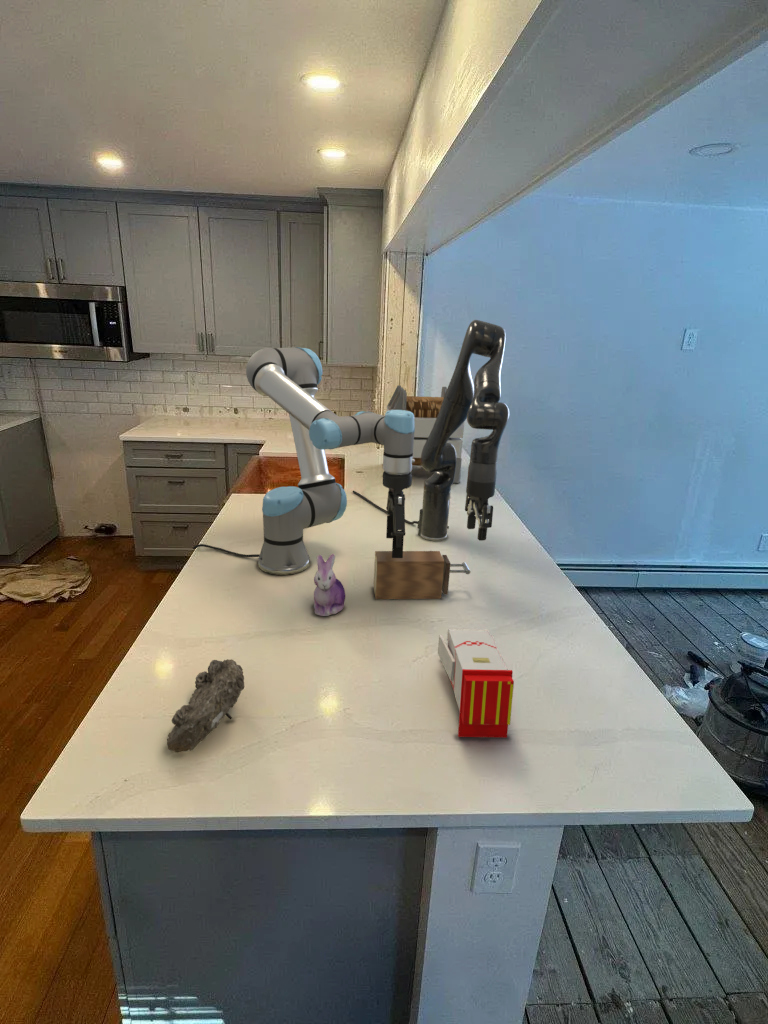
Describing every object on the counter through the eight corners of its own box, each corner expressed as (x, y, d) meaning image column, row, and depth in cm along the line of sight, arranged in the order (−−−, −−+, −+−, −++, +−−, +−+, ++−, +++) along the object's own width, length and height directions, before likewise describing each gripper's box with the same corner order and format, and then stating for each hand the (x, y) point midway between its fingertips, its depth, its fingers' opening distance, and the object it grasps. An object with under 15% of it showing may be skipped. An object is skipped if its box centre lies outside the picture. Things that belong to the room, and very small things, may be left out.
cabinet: (436, 587, 163) (439, 550, 159) (441, 598, 156) (444, 561, 153) (373, 587, 161) (375, 551, 157) (375, 599, 154) (377, 561, 150)
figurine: (319, 621, 142) (319, 567, 137) (305, 602, 151) (304, 551, 146) (353, 613, 146) (354, 560, 141) (337, 596, 155) (338, 545, 150)
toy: (488, 613, 130) (523, 677, 101) (484, 667, 133) (517, 744, 104) (435, 612, 130) (455, 676, 101) (432, 666, 133) (451, 743, 103)
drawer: (463, 585, 163) (467, 554, 159) (468, 594, 158) (471, 563, 154) (384, 585, 160) (385, 554, 157) (386, 595, 155) (388, 563, 152)
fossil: (192, 660, 117) (244, 628, 112) (224, 691, 120) (276, 661, 115) (142, 746, 98) (202, 712, 93) (182, 779, 101) (242, 748, 96)
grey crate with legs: (382, 463, 289) (386, 382, 275) (445, 464, 293) (451, 384, 279) (390, 482, 257) (394, 392, 243) (460, 483, 261) (468, 394, 247)
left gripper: (419, 485, 135) (414, 566, 142) (405, 459, 158) (401, 530, 165) (388, 485, 134) (385, 566, 141) (378, 459, 157) (376, 530, 164)
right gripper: (505, 485, 145) (498, 543, 150) (485, 470, 158) (479, 524, 163) (477, 485, 143) (471, 544, 149) (459, 470, 156) (454, 525, 162)
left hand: (394, 547), depth 153 cm, fingers open, 13 cm apart
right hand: (476, 534), depth 156 cm, fingers open, 8 cm apart
